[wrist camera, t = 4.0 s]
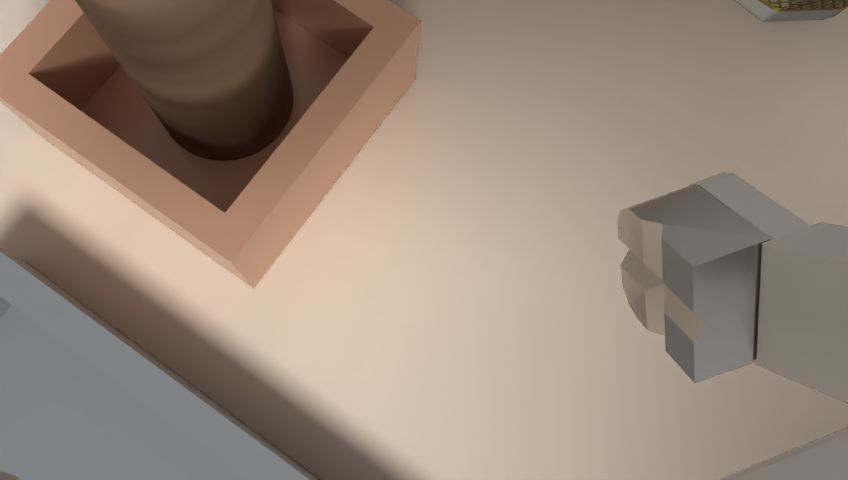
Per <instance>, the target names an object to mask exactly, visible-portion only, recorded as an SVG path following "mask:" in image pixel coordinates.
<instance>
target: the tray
mask: <svg viewBox="0 0 848 480" xmlns="http://www.w3.org/2000/svg"><path fill="white" fill-rule="evenodd" d="M0 451H1V453H0V470H1V471H3V472H6V473H9V474H12V475H14V476H17V477H19V478H20V479H21V480H320V479H319V478H317V477H316V476H315V475H313V474H312V473H311V472H309V471H308V470H307V469H305V468H304V467H302V466H301V465H300V464H298V463H297V462H296V461H294V460H293V459H292V458H290V457H289V456H288V455H286V454H285V453H283V452H282V451H281V450H279V449H278V448H277V447H275V446H274V445H273V444H271V443H270V442H269V441H267V440H266V439H264V438H263V437H262V436H260V435H259V434H258V433H256V432H255V431H254V430H252V429H251V428H250V427H248V426H247V425H245V424H244V423H243V422H241V421H240V420H239V419H237V418H236V417H235V416H233V415H232V414H231V413H229V412H228V411H226V410H225V409H224V408H222V407H221V406H220V405H218V404H217V403H216V402H214V401H213V400H212V399H210V398H209V397H208V396H206V395H205V394H203V393H202V392H201V391H199V390H198V389H197V388H195V387H194V386H193V385H191V384H190V383H189V382H187V381H186V380H184V379H183V378H182V377H180V376H179V375H178V374H176V373H175V372H174V371H172V370H171V369H170V368H168V367H167V366H165V365H164V364H163V363H161V362H160V361H159V360H157V359H156V358H155V357H153V356H152V355H151V354H149V353H148V352H146V351H145V350H144V349H142V348H141V347H140V346H138V345H137V344H136V343H134V342H133V341H132V340H130V339H129V338H127V337H126V336H125V335H123V334H122V333H121V332H119V331H118V330H117V329H115V328H114V327H113V326H111V325H110V324H108V323H107V322H106V321H104V320H103V319H102V318H100V317H99V316H98V315H96V314H95V313H94V312H92V311H91V310H89V309H88V308H87V307H85V306H84V305H83V304H81V303H80V302H79V301H77V300H76V299H75V298H73V297H72V296H70V295H69V294H68V293H66V292H65V291H64V290H62V289H61V288H60V287H58V286H57V285H56V284H54V283H53V282H52V281H50V280H49V279H47V278H46V277H45V276H43V275H42V274H41V273H39V272H38V271H37V270H35V269H34V268H33V267H31V266H30V265H28V264H27V263H26V262H24V261H23V260H22V259H20V258H17V257H15V256H13V255H11V254H9V253H7V252H5V251H3V250H1V249H0Z"/></svg>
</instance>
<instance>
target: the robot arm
mask: <svg viewBox="0 0 848 480" xmlns="http://www.w3.org/2000/svg"><path fill="white" fill-rule="evenodd" d="M618 237H619V239H620V240H621V241H622V242H623V243H624V244H625V245H626V246H627V247H628V248H629V251H628V253H627V255H626V257H625V258H624V260H623V262H622V264H621V273H622V282H623V288H624V291H625V293H626V296H627V299H628V302H629V305H630V307H631V308H632V310H633V312H634V313H635V315H636V317H637V318H638V320H639V321H640V322H641V323H642V324H643V325H644V327H645V328H646V329H647V330H649V331H652V332H655V333H658V334H662V335H665V344H666V351H667V353H668V354H669V355H670V356H671V357H672V358H673V359H674V360H675V361H676V363H677V364H678V365H679V366H680V367H681V368H682V369H683V370H684V371H685V373H686V374H687V375H688V376H689V377H690V378H691V379H692V380H693V381H694V382H695V383H696V382H699V381H702V380H705V379H708V378H710V377H713V376H716V375H719V374H722V373H725V372H728V371H731V370H733V369H736V368H739V367H742V366H745V365H748V364H751V363H754V362H756V361H757V362H756V365H758V366H761V367H763V368H765V369H768V370H770V371H772V372H775V373H777V374H780V375H782V376H784V377H787V378H789V379H791V380H794V381H796V382H798V383H801V384H803V385H805V386H808V387H810V388H813V389H815V390H817V391H820V392H822V393H824V394H827V395H829V396H831V397H834V398H836V399H839V400H841V401H843V402H846V403H848V227H844V226H838V225H833V224H827V223H818V224H816V225H813V226H809V225H808V224H807V223H805V222H804V221H802V220H801V219H799V218H798V217H796V216H795V215H793V214H792V213H790V212H789V211H787V210H786V209H785V208H783V207H782V206H780V205H779V204H777V203H776V202H774V201H773V200H771V199H770V198H768V197H767V196H766V195H764V194H763V193H761V192H760V191H758V190H757V189H755V188H754V187H752V186H751V185H749V184H748V183H746V182H745V181H744V180H742V179H741V178H739V177H738V176H736V175H735V174H732V173H726V172H723V173H720V174H717V175H715V176H712V177H709V178H707V179H704V180H701V181H699V182H696V183H693V184H691V185H689V186H688V187H686V188H683V189H680V190H677V191H674V192H671V193H668V194H666V195H663V196H660V197H657V198H654V199H651V200H649V201H646V202H643V203H640V204H637V205H634V206H632V207H629V208H626V209H623V210H620V213H619V217H618ZM0 453H1V451H0ZM0 480H21V479H20V478H19V477H17V476H14V475H12V474H9V473H6V472H3V471H1V470H0ZM717 480H848V427H847V428H845V429H842V430H840V431H837V432H835V433H832V434H830V435H827V436H825V437H822V438H820V439H817V440H815V441H812V442H810V443H807V444H805V445H802V446H800V447H797V448H795V449H792V450H790V451H787V452H785V453H782V454H780V455H777V456H775V457H772V458H770V459H767V460H765V461H762V462H760V463H757V464H755V465H752V466H750V467H747V468H745V469H742V470H740V471H737V472H735V473H732V474H730V475H727V476H725V477H722V478H720V479H717Z"/></svg>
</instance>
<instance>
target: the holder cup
mask: <svg viewBox="0 0 848 480" xmlns="http://www.w3.org/2000/svg"><path fill="white" fill-rule="evenodd" d="M271 3H272V7H273V11H274V15H275V19H276V23H277V27H278V31H279V35H280V39H281V42H282V46H283V50H284V54H285V58H286V62H287V66H288V70H289V74H290V78H291V82H292V87H293V107H292V111H291V115H290V117H289V120H288V122H287V124H286V126H285V128H284V129H283V131H282V132H281V134H280V135H279V136H278V137H277V138H276V139H275V140H274V141H273V142H272V143H271V144H270V145H269V146H267V147H266V148H264V149H263V150H261V151H260V152H258V153H256V154H254V155H251V156H248V157H245V158H242V159H237V160H230V161H216V160H210V159H206V158H202V157H199V156H197V155H194V154H192V153H190V152H189V151H187V150H185V149H184V148H182V147H181V146H180V145H179V144H177V143H176V141H175V140H174V139H173V138H172V137H171V136H170V134H169V133H168V132H167V130H166V129H165V127H164V126H163V125H162V123H161V122H160V120H159V119H158V117H157V116H156V115H155V113H154V112H153V110H152V109H151V108H150V106H149V105H148V103H147V102H146V100H145V99H144V98H143V96H142V95H141V93H140V92H139V91H138V89H137V88H136V86H135V85H134V83H133V82H132V81H131V79H130V78H129V76H128V75H127V74H126V72H125V71H124V69H123V68H122V66H121V65H120V64H119V62H118V61H117V59H116V58H115V57H114V55H113V54H112V52H111V51H110V49H109V48H108V47H107V45H106V44H105V42H104V41H103V40H102V38H101V37H100V35H99V34H98V32H97V31H96V30H95V28H94V27H93V25H92V24H91V23H90V21H89V20H88V18H87V17H86V15H85V14H84V13H83V11H82V10H81V8H80V7H79V6H78V4H77V3H76V1H75V0H51V1H50V2H49V3H48V4H47V5H46V6H45V7H44V9H43V10H42V11H41V12H40V13H39V14H38V15H37V16H36V17H35V18H34V19H33V20H32V21H31V22H30V24H29V25H28V26H27V27H26V28H25V29H24V30H23V31H22V32H21V33H20V34H19V35H18V36H17V37H16V39H15V40H14V41H13V42H12V43H11V44H10V45H9V46H8V47H7V48H6V49H5V50H4V51H3V52H2V54H1V55H0V101H1V102H2V103H3V104H4V105H5V106H6V107H7V108H9V109H10V110H11V111H12V112H13V113H14V114H15V115H17V116H18V117H19V118H20V119H21V120H22V121H24V122H25V123H26V124H27V125H28V126H29V127H30V128H32V129H33V130H34V131H35V132H36V133H38V134H39V135H40V136H42V137H43V138H45V139H46V140H47V141H49V142H50V143H52V144H53V145H54V146H56V147H57V148H59V149H60V150H61V151H63V152H64V153H66V154H67V155H68V156H70V157H71V158H72V159H74V160H75V161H77V162H78V163H79V164H81V165H82V166H84V167H85V168H86V169H88V170H89V171H91V172H92V173H93V174H95V175H96V176H98V177H99V178H100V179H102V180H103V181H105V182H106V183H107V184H109V185H110V186H112V187H113V188H114V189H116V190H117V191H119V192H120V193H121V194H123V195H124V196H125V197H127V198H128V199H130V200H131V201H132V202H134V203H135V204H137V205H138V206H139V207H141V208H142V209H144V210H145V211H146V212H148V213H149V214H151V215H152V216H153V217H155V218H156V219H158V220H159V221H160V222H162V223H163V224H165V225H166V226H167V227H169V228H170V229H172V230H173V231H174V232H176V233H177V234H178V235H180V236H181V237H183V238H184V239H185V240H187V241H188V242H190V243H191V244H192V245H194V246H195V247H197V248H198V249H199V250H201V251H202V252H204V253H205V254H206V255H208V256H209V257H211V258H212V259H213V260H215V261H216V262H218V263H219V264H220V265H222V266H223V267H225V268H226V269H227V270H229V271H230V272H231V273H233V274H234V275H236V276H237V277H238V278H240V279H241V280H243V281H244V282H245V283H247V284H248V285H250V286H251V287H252V288H254V287H255V286H256V285H257V283H258V282H259V281H260V279H261V278H262V277H263V275H264V274H265V273H266V272H267V270H268V269H269V268H270V266H271V265H272V264H273V263H274V261H275V260H276V259H277V257H278V256H279V255H280V253H281V252H282V251H283V250H284V248H285V247H286V246H287V244H288V243H289V242H290V240H291V239H292V238H293V237H294V235H295V234H296V233H297V231H298V230H299V229H300V227H301V226H302V225H303V224H304V222H305V221H306V220H307V218H308V217H309V216H310V215H311V213H312V212H313V211H314V209H315V208H316V207H317V205H318V204H319V203H320V202H321V200H322V199H323V198H324V196H325V195H326V194H327V192H328V191H329V190H330V189H331V187H332V186H333V185H334V183H335V182H336V181H337V180H338V178H339V177H340V176H341V174H342V173H343V172H344V170H345V169H346V168H347V167H348V165H349V164H350V163H351V161H352V160H353V159H354V157H355V156H356V155H357V154H358V152H359V151H360V150H361V148H362V147H363V146H364V144H365V143H366V142H367V141H368V139H369V138H370V137H371V135H372V134H373V133H374V132H375V130H376V129H377V128H378V126H379V125H380V124H381V122H382V121H383V120H384V119H385V117H386V116H387V115H388V113H389V112H390V111H391V109H392V108H393V107H394V106H395V104H396V103H397V102H398V100H399V99H400V98H401V97H402V95H403V94H404V93H405V91H406V90H407V89H408V87H409V86H410V85H411V84H412V82H413V81H414V80H415V76H416V66H417V56H418V46H419V36H420V27H421V20H419V19H418V18H416V17H415V16H413V15H412V14H410V13H409V12H407V11H405V10H404V9H402V8H401V7H399V6H398V5H396V4H395V3H393V2H392V1H390V0H271Z"/></svg>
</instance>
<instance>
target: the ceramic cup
mask: <svg viewBox="0 0 848 480" xmlns="http://www.w3.org/2000/svg"><path fill="white" fill-rule="evenodd" d="M736 1H737V2H738V3H740V4H741V5H742V6H743V7H745V8H746V9H747V10H748V11H750V12H751V13H752V14H754V15H755V16H756V17H758V18H759V19H761V20H762V21H795V20H824V19H826V18H830V17H834V16H835V15H837V14H838V13H840V12H841V11H843V10H844V9H846V8H847V7H848V0H736Z"/></svg>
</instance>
